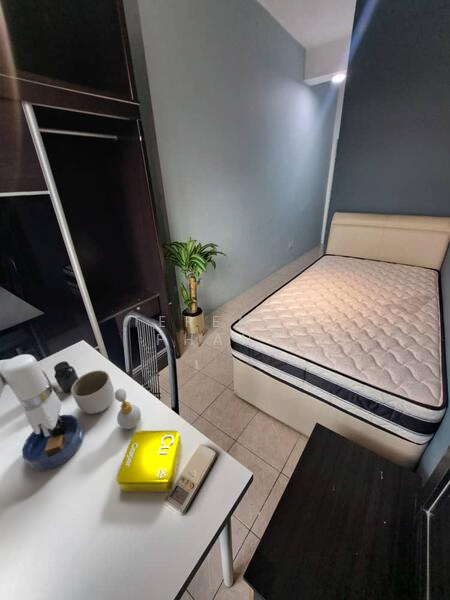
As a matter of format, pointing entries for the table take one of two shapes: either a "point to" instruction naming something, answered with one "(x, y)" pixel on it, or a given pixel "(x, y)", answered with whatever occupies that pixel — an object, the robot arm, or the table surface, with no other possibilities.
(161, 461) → the element tile
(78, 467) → the table surface
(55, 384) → the condiment
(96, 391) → the planter
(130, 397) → the table surface
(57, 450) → the block
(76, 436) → the bowl
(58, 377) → the supplement bottle
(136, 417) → the perfume bottle
